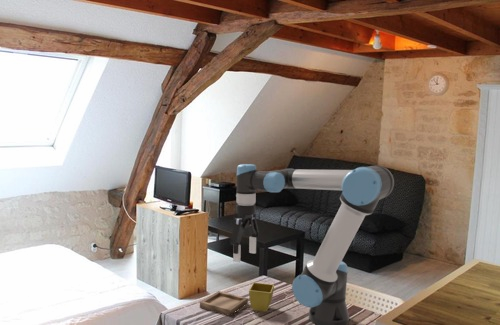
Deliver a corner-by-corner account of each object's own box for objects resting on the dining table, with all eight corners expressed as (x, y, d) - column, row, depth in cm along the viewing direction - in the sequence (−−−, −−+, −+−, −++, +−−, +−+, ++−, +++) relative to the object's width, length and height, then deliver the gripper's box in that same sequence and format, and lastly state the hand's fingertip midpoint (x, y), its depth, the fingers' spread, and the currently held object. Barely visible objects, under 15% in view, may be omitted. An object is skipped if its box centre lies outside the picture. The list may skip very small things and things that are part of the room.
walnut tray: (247, 303, 190) (247, 298, 190) (230, 315, 178) (230, 310, 178) (218, 296, 197) (218, 291, 197) (199, 307, 184) (199, 302, 184)
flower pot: (269, 315, 180) (271, 292, 179) (247, 312, 182) (248, 290, 181) (273, 306, 189) (274, 284, 188) (252, 303, 190) (253, 282, 190)
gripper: (251, 198, 195) (250, 248, 197) (221, 207, 173) (220, 263, 175) (267, 200, 192) (266, 250, 194) (239, 209, 170) (238, 266, 171)
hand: (244, 257), depth 184 cm, fingers open, 13 cm apart
